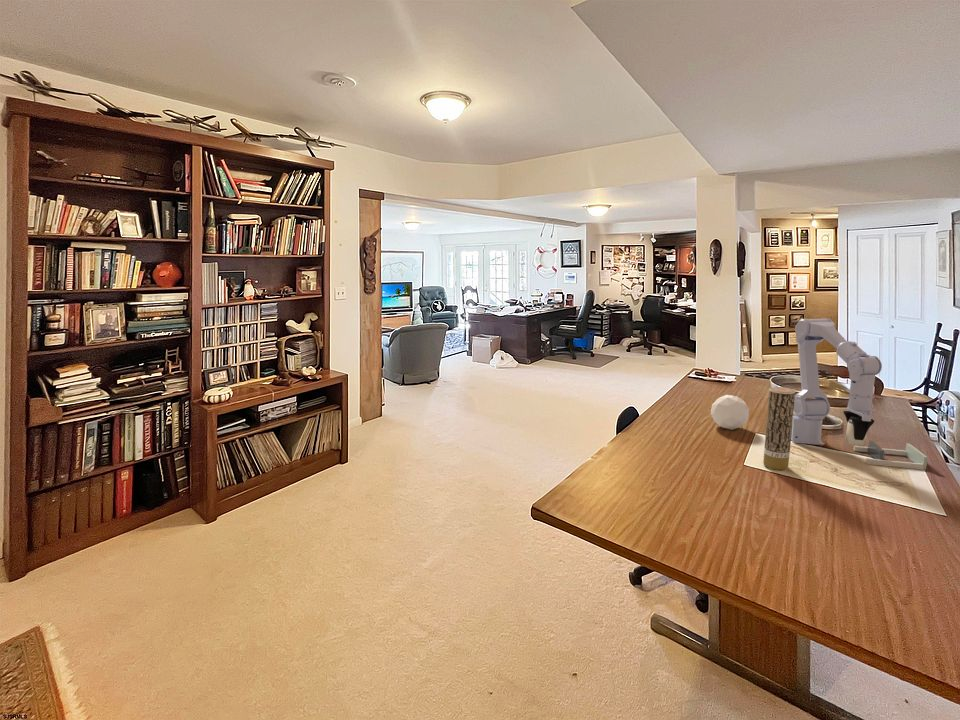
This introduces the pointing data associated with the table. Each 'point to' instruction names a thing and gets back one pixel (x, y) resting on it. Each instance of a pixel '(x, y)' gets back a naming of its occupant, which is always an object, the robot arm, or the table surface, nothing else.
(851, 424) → the jar
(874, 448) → the pusher plate
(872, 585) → the table surface
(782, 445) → the paper tube
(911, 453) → the lane
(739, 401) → the geodesic sphere
